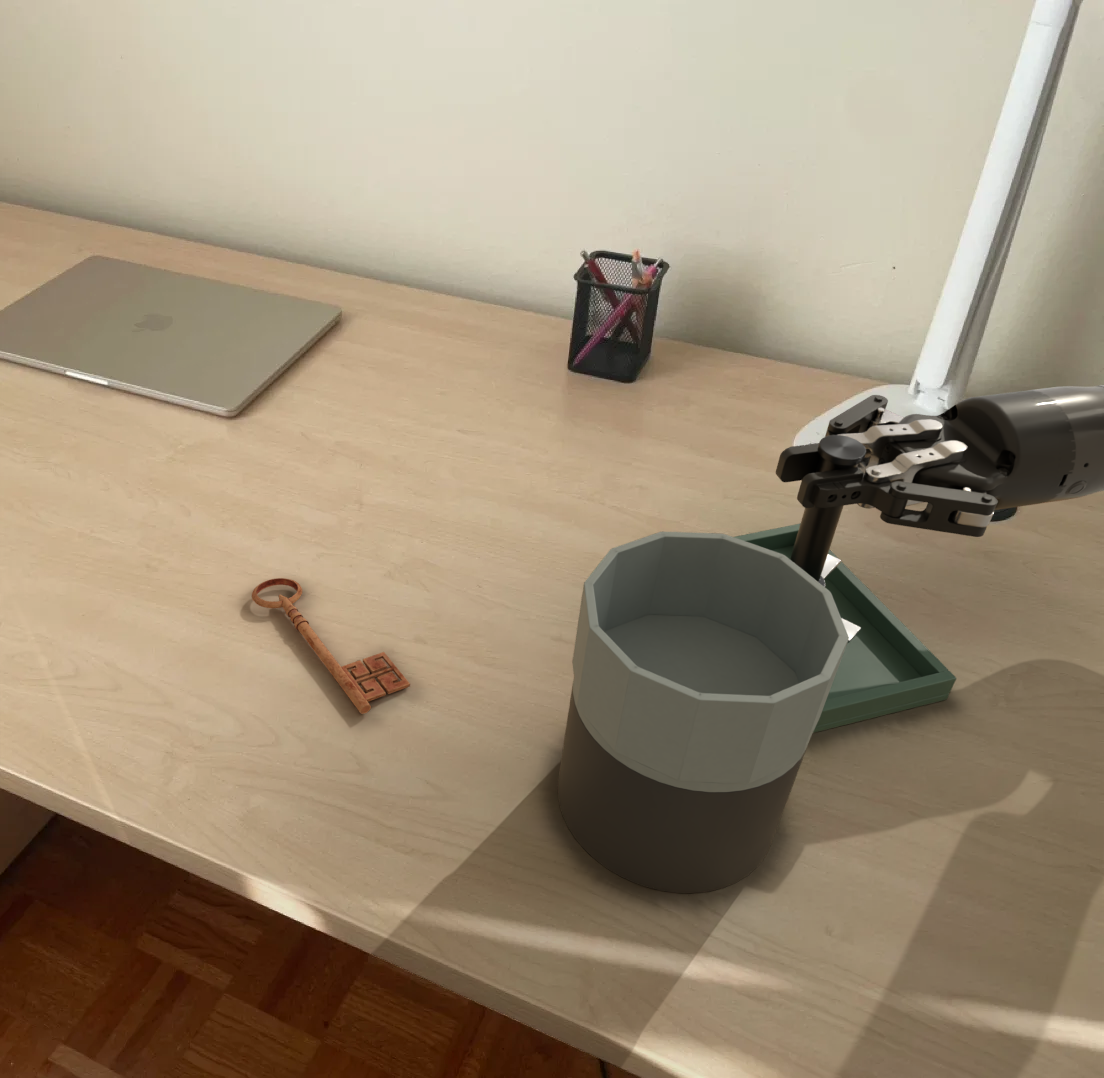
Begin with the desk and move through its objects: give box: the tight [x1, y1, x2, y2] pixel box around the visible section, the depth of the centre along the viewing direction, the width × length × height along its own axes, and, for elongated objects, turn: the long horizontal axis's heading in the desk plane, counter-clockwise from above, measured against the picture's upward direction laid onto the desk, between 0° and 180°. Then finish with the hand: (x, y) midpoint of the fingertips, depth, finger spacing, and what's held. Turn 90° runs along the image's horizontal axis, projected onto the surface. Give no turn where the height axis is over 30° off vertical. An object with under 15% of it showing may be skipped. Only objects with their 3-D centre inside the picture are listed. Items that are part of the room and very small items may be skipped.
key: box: [251, 577, 411, 715], centre depth 76 cm, size 6×1×15 cm
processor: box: [557, 531, 849, 894], centre depth 60 cm, size 13×13×16 cm
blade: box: [790, 435, 866, 643], centre depth 71 cm, size 9×9×14 cm
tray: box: [733, 522, 957, 734], centre depth 76 cm, size 18×14×2 cm
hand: (792, 478), depth 67 cm, fingers closed on blade
